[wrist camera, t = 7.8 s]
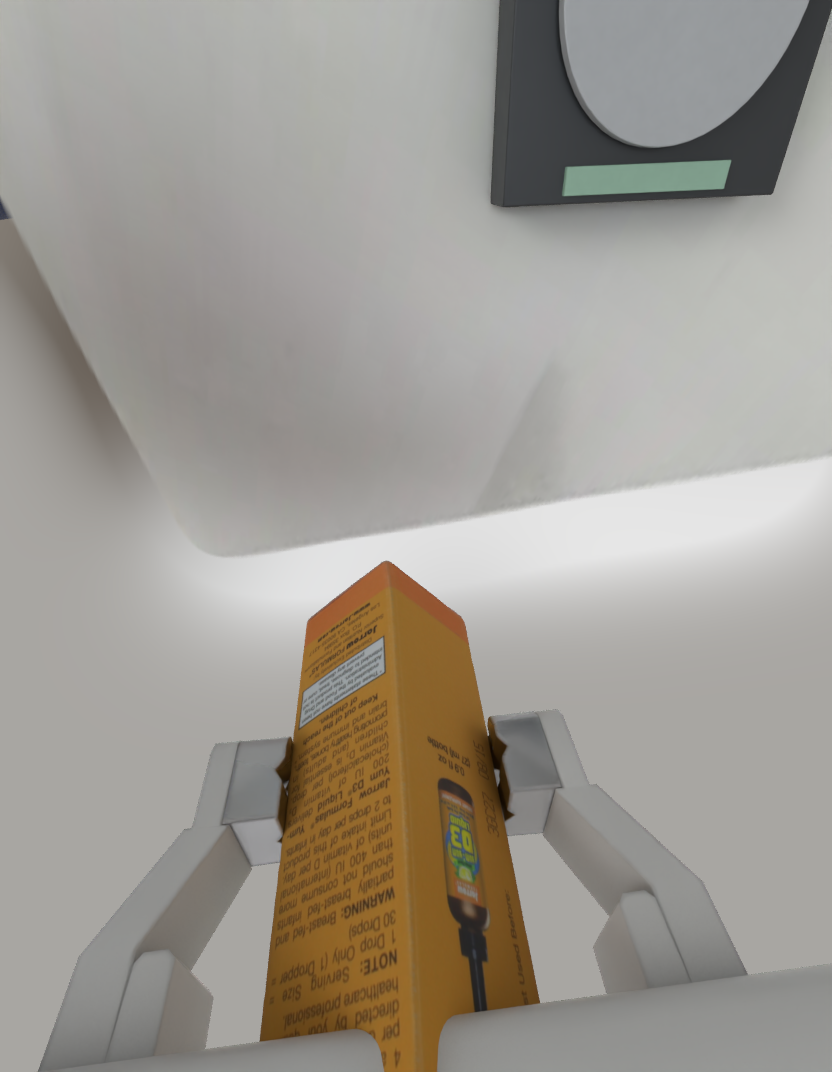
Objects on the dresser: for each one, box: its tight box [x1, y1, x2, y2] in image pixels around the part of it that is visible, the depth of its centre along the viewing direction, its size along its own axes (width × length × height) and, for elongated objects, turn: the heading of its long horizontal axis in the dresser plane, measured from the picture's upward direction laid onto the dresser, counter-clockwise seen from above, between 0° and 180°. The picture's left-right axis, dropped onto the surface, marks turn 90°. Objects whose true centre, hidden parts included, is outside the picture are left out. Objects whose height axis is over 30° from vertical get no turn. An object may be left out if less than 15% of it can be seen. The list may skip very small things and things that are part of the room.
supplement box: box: [260, 561, 540, 1072], centre depth 10 cm, size 3×3×10 cm
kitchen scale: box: [491, 0, 832, 207], centre depth 19 cm, size 12×11×3 cm
